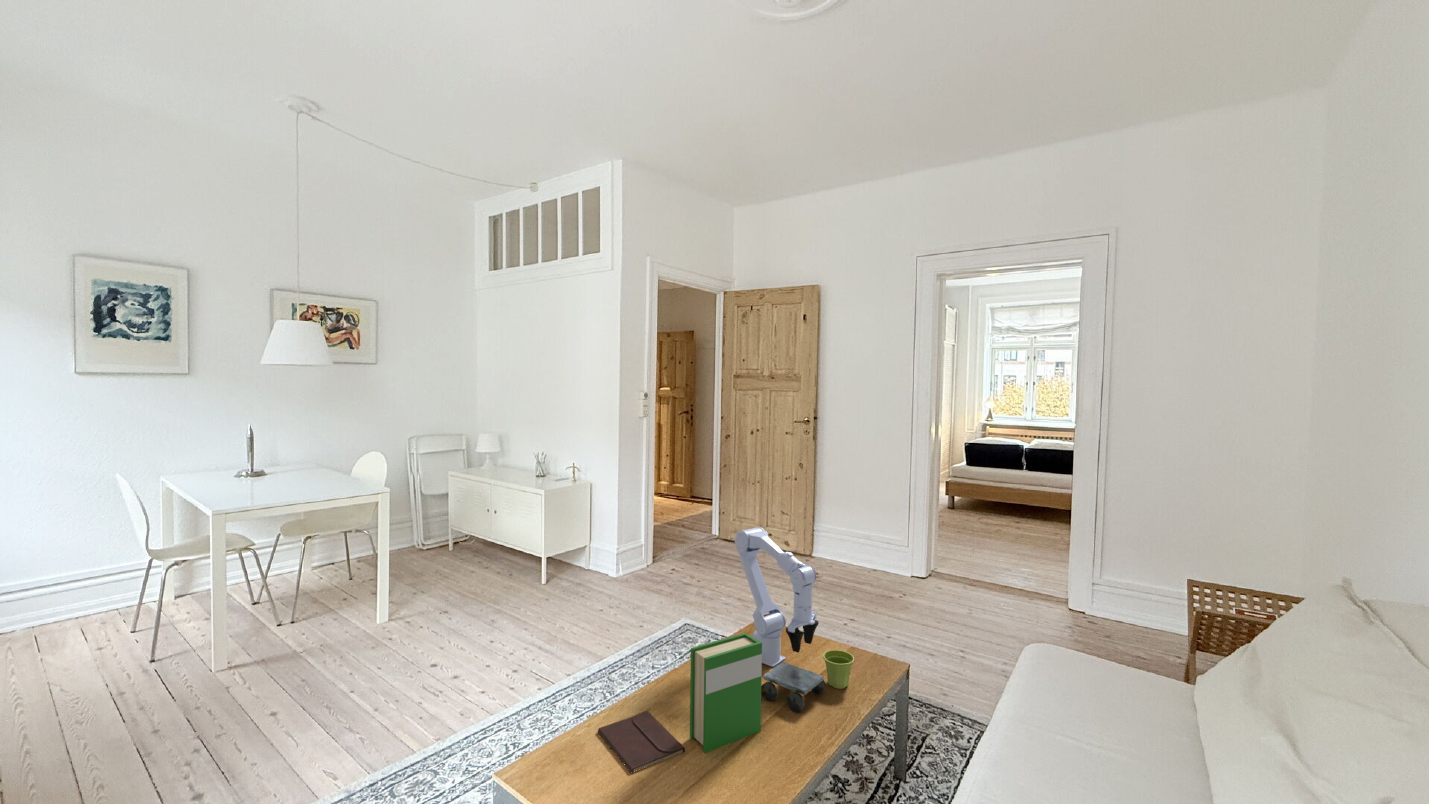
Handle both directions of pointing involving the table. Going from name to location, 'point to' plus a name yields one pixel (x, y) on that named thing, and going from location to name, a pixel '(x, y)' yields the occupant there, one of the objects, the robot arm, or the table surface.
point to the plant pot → (838, 667)
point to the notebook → (640, 741)
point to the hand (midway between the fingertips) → (802, 647)
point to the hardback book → (725, 691)
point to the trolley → (792, 684)
